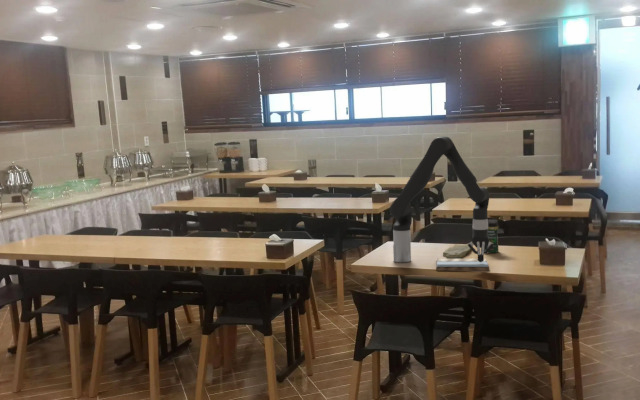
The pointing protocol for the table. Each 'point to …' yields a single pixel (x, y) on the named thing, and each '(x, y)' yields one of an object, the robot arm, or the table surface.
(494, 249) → the coffee jar
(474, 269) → the floor board
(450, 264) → the tilted plank
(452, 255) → the stone slab
